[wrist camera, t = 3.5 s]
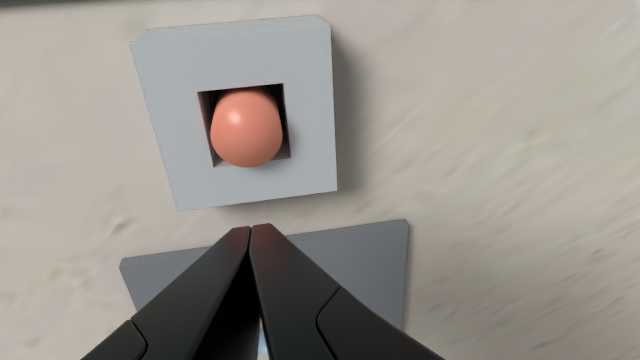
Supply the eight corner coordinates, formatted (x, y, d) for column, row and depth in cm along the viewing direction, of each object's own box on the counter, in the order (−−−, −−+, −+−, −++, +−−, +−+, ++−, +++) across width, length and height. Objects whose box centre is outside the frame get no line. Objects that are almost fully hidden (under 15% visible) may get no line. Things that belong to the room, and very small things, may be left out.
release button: (221, 141, 16) (217, 171, 14) (209, 83, 15) (203, 106, 13) (280, 135, 17) (285, 163, 14) (274, 76, 15) (278, 98, 13)
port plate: (187, 421, 26) (186, 430, 26) (122, 258, 19) (118, 267, 19) (394, 383, 28) (397, 391, 27) (404, 218, 21) (408, 225, 20)
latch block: (185, 179, 18) (177, 211, 16) (146, 29, 15) (129, 43, 12) (327, 162, 18) (337, 190, 16) (318, 14, 15) (330, 26, 13)
